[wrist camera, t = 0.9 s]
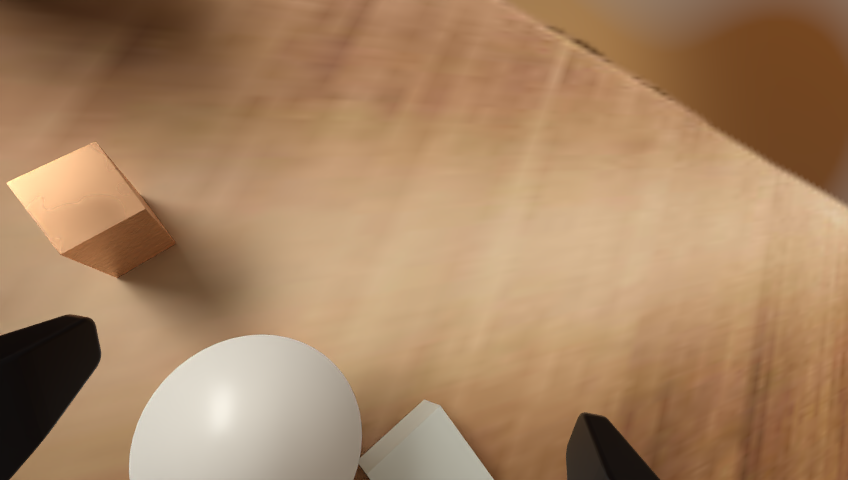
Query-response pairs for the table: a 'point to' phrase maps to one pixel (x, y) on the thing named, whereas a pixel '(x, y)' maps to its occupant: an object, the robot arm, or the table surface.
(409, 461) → the notched board
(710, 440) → the table surface
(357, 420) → the bobbin
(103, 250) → the copper tab
